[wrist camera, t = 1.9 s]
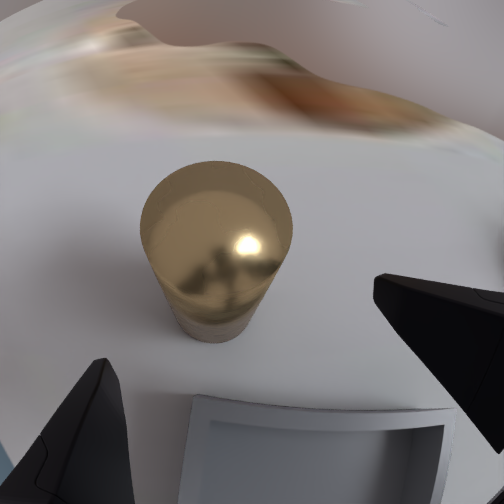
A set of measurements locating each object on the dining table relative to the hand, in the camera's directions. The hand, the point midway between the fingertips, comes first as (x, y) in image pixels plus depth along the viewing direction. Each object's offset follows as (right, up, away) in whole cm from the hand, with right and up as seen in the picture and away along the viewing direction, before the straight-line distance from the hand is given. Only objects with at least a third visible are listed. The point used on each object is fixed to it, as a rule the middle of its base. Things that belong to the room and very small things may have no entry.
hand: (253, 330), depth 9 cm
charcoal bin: (+3, -15, +6) cm, 16 cm away
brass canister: (-3, -1, +11) cm, 12 cm away
